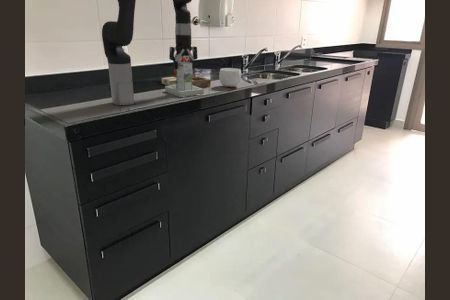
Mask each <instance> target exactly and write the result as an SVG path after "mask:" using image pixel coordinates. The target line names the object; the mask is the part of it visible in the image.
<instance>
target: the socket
mask: <svg viewBox="0 0 450 300" xmlns="http://www.w3.org/2000/svg"><path fill="white" fill-rule="evenodd" d="M192 85H193V86H196V87H199V88H202V89H204V88H205V89H206V88H211V79H209V78H207V77H202V76H194V77H192Z"/></svg>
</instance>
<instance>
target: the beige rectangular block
mask: <svg viewBox="0 0 450 300" xmlns="http://www.w3.org/2000/svg"><path fill="white" fill-rule="evenodd" d="M161 84H162V85H165V86H170V85H176V77H175V76H167V77H161Z"/></svg>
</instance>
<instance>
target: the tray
mask: <svg viewBox="0 0 450 300" xmlns="http://www.w3.org/2000/svg"><path fill="white" fill-rule="evenodd" d="M164 87H165V88H164V89H165V92H166V93H167V94H170V93H171V95H173V94H174V95H173V96H175V95H177V96H176V97H178V96H180V97H183V96H190V95H197V94H204V93H205V91H204V88H199V87H196V86H193V85H192V90H188V91H180V90H177V88H176V85H170V86H168V85H165V86H164ZM180 97H179V98H180ZM183 98H184V97H183Z"/></svg>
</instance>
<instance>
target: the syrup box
mask: <svg viewBox="0 0 450 300" xmlns="http://www.w3.org/2000/svg"><path fill="white" fill-rule="evenodd" d="M192 70H193V69H192V63H189V62H179V63H178V69H177V70H176V88H177V90H180V91H188V90H192Z"/></svg>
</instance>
